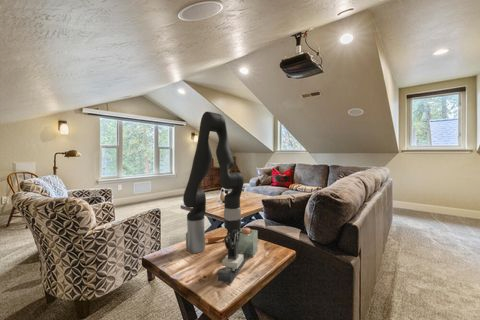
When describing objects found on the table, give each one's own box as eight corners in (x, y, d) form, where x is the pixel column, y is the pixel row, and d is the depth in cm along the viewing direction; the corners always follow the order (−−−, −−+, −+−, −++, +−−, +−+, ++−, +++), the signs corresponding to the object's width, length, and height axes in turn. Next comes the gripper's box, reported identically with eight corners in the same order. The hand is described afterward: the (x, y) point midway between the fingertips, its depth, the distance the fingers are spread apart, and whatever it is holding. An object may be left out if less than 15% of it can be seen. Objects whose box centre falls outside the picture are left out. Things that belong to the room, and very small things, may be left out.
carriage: (237, 271, 93) (236, 247, 92) (222, 268, 95) (222, 245, 95) (243, 262, 100) (243, 240, 100) (229, 260, 103) (229, 238, 102)
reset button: (240, 237, 113) (240, 230, 113) (243, 234, 117) (243, 227, 117) (248, 238, 112) (248, 231, 112) (251, 235, 116) (251, 228, 116)
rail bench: (235, 284, 87) (235, 258, 87) (213, 279, 91) (213, 254, 90) (257, 250, 117) (257, 230, 116) (240, 247, 120) (240, 228, 120)
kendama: (206, 234, 130) (238, 227, 136) (208, 245, 129) (239, 237, 136) (208, 236, 124) (241, 229, 131) (210, 247, 123) (242, 239, 130)
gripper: (231, 212, 105) (231, 247, 106) (217, 221, 92) (218, 260, 92) (245, 213, 102) (246, 249, 103) (234, 222, 89) (234, 263, 90)
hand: (233, 254), depth 98 cm, fingers closed on carriage, 3 cm apart
